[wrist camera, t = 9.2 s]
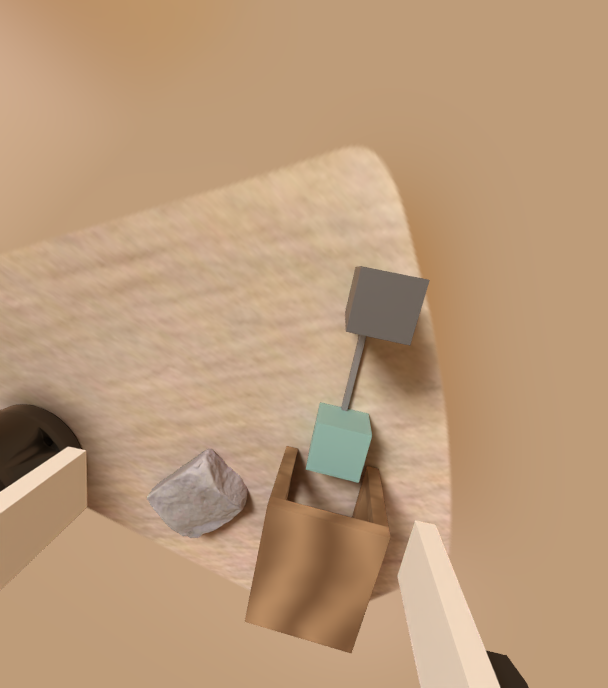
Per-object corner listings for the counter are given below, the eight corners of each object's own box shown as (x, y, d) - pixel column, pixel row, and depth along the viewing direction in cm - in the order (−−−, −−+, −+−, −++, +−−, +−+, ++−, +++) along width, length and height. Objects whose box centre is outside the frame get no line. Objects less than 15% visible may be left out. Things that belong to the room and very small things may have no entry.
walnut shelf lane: (267, 541, 43) (244, 621, 34) (286, 445, 39) (267, 505, 29) (349, 564, 43) (351, 653, 33) (378, 468, 38) (390, 537, 29)
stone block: (259, 482, 44) (207, 440, 41) (253, 513, 39) (195, 468, 36) (203, 516, 47) (152, 480, 44) (192, 548, 43) (134, 510, 40)
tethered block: (310, 444, 39) (297, 510, 28) (351, 266, 33) (354, 265, 22) (356, 455, 38) (361, 527, 28) (406, 277, 32) (436, 281, 22)
